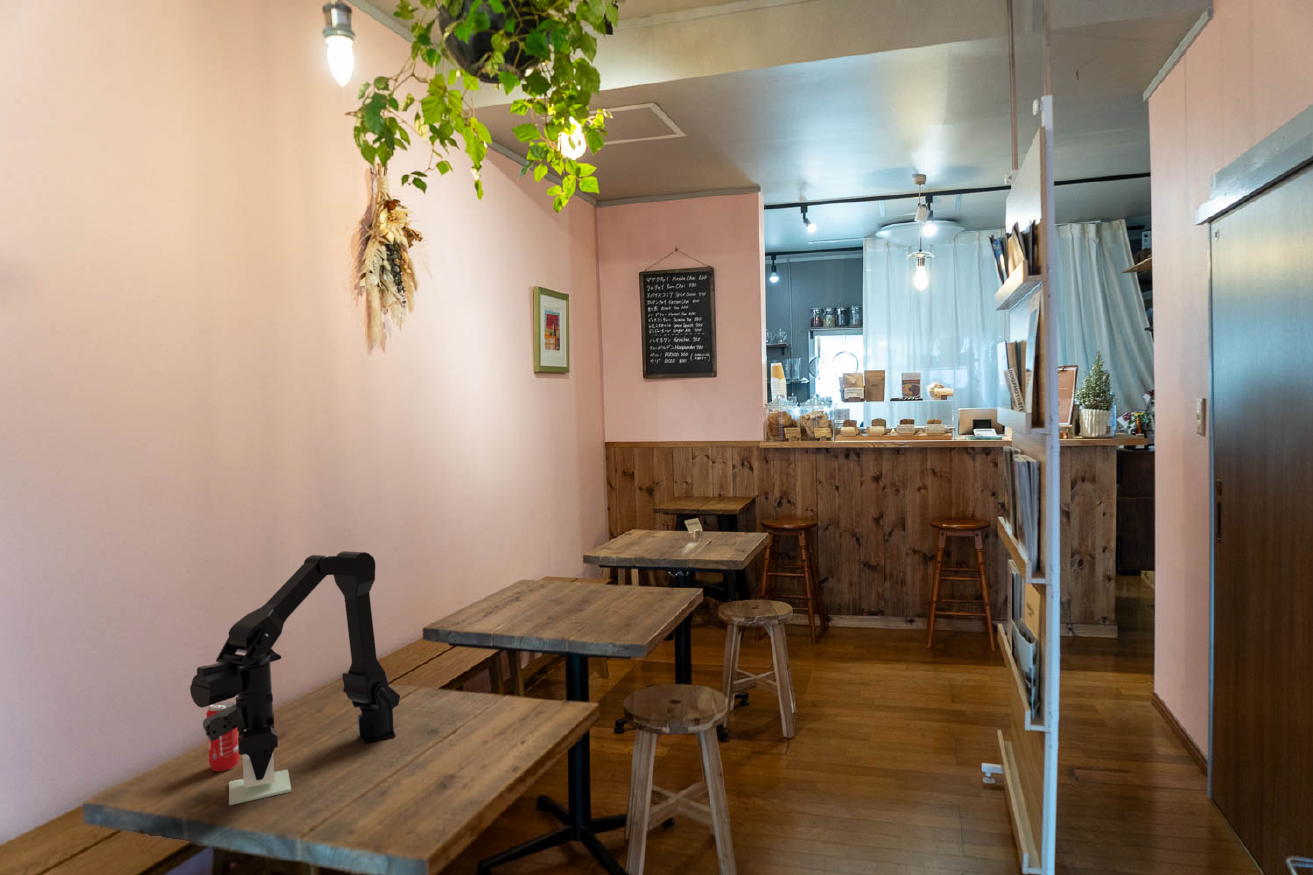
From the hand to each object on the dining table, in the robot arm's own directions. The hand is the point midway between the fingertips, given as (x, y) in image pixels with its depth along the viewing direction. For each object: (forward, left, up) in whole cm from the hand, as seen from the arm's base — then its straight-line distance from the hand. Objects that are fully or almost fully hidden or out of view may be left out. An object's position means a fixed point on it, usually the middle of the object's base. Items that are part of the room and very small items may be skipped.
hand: (259, 774), depth 153 cm
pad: (0, 0, -2) cm, 2 cm away
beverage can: (+6, -15, -3) cm, 16 cm away
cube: (0, 0, -1) cm, 1 cm away
